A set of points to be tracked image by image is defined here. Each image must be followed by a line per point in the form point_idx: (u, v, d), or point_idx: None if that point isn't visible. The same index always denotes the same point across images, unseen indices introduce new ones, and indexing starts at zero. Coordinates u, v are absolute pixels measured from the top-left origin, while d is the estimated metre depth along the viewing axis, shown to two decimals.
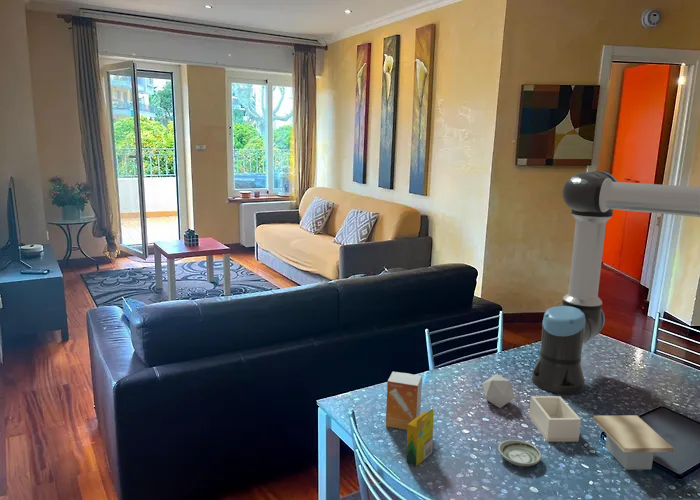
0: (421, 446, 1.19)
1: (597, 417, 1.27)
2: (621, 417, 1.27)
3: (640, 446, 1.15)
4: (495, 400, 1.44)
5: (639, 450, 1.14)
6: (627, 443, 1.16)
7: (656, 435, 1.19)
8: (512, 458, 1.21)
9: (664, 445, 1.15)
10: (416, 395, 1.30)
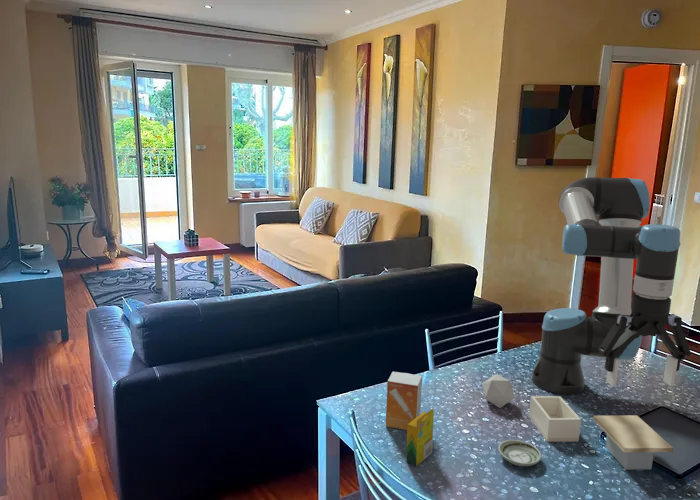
0: (421, 446, 1.19)
1: (597, 417, 1.27)
2: (621, 417, 1.27)
3: (640, 446, 1.15)
4: (495, 400, 1.44)
5: (639, 450, 1.14)
6: (627, 443, 1.16)
7: (656, 435, 1.19)
8: (512, 458, 1.21)
9: (664, 445, 1.15)
10: (416, 395, 1.30)
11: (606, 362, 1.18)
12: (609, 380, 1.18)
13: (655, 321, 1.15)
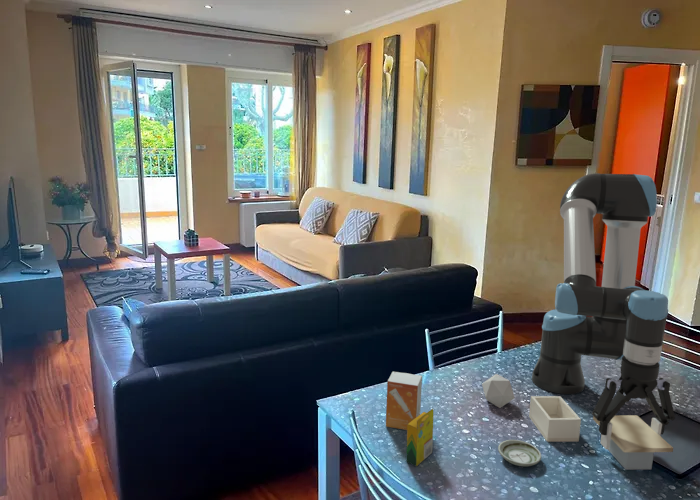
0: (421, 446, 1.19)
1: None
2: (621, 416, 1.27)
3: (640, 446, 1.15)
4: (495, 400, 1.44)
5: (639, 450, 1.14)
6: (627, 443, 1.16)
7: (656, 435, 1.19)
8: (512, 458, 1.21)
9: (664, 445, 1.15)
10: (416, 395, 1.30)
11: (600, 425, 1.21)
12: (603, 442, 1.22)
13: (644, 384, 1.18)
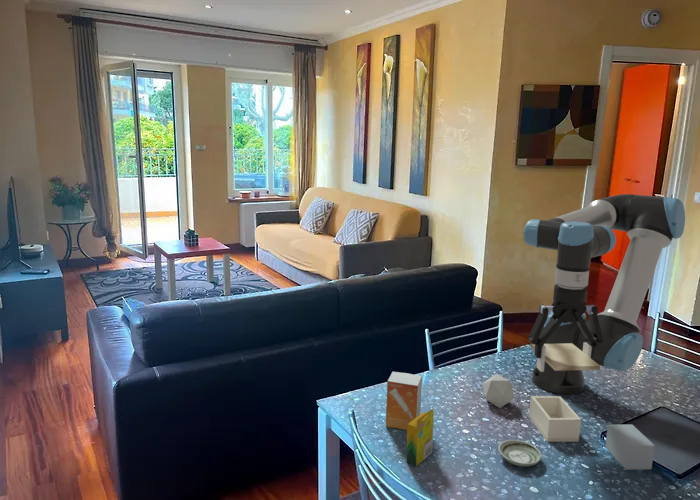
0: (421, 446, 1.19)
1: None
2: (557, 344, 1.36)
3: (569, 365, 1.24)
4: (495, 400, 1.44)
5: (569, 368, 1.23)
6: (558, 363, 1.25)
7: (586, 357, 1.28)
8: (512, 458, 1.21)
9: (592, 364, 1.24)
10: (416, 395, 1.30)
11: (535, 349, 1.30)
12: (538, 366, 1.31)
13: (574, 309, 1.26)
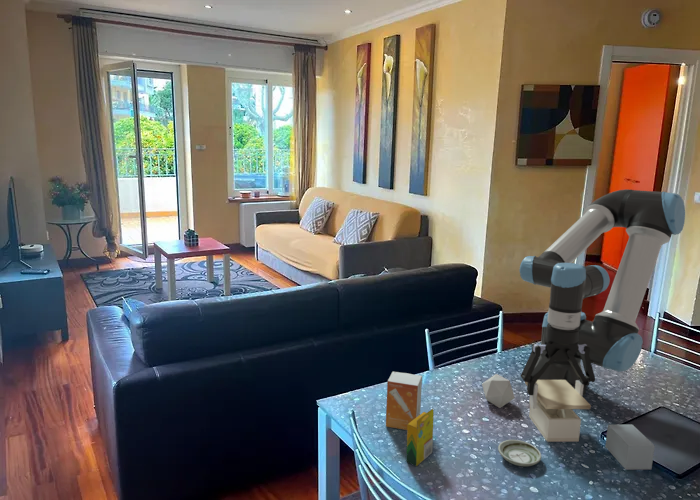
0: (421, 446, 1.19)
1: None
2: (550, 380, 1.39)
3: (560, 404, 1.26)
4: (495, 400, 1.44)
5: (559, 407, 1.26)
6: (550, 401, 1.27)
7: (578, 395, 1.31)
8: (512, 458, 1.21)
9: (583, 403, 1.27)
10: (416, 395, 1.30)
11: (528, 387, 1.32)
12: (531, 402, 1.33)
13: (566, 348, 1.29)
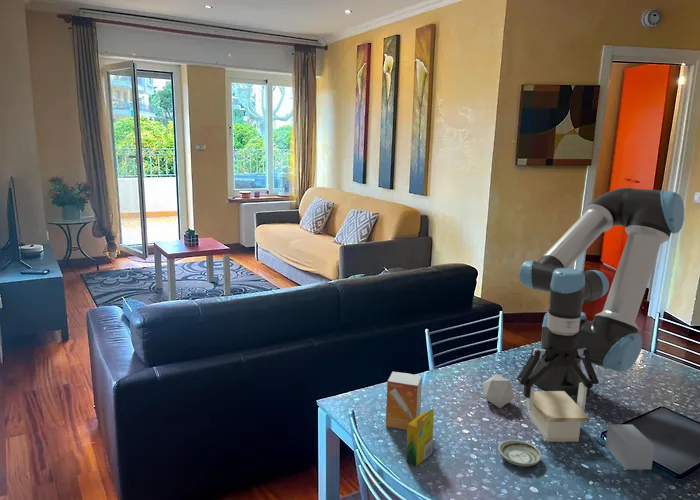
0: (421, 446, 1.19)
1: None
2: (549, 392, 1.40)
3: (559, 417, 1.27)
4: (495, 400, 1.44)
5: (558, 420, 1.27)
6: (549, 414, 1.28)
7: (577, 407, 1.32)
8: (512, 458, 1.21)
9: (581, 415, 1.28)
10: (416, 395, 1.30)
11: (524, 389, 1.33)
12: (527, 405, 1.33)
13: (565, 354, 1.29)
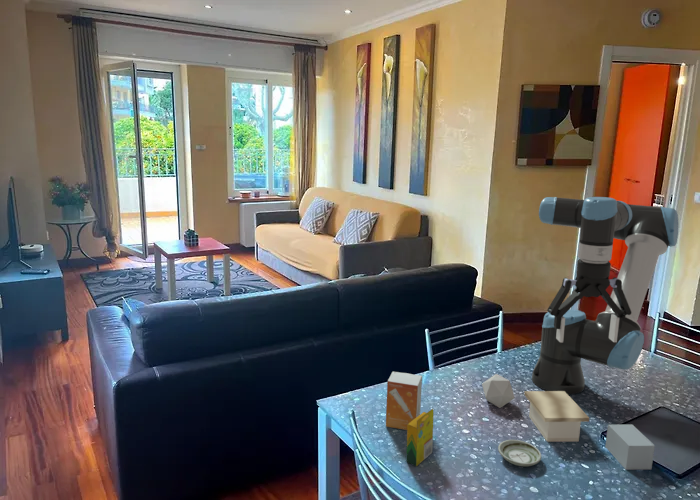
0: (421, 446, 1.19)
1: (527, 392, 1.39)
2: (549, 392, 1.40)
3: (559, 417, 1.27)
4: (495, 400, 1.44)
5: (558, 420, 1.27)
6: (549, 414, 1.28)
7: (577, 407, 1.32)
8: (512, 458, 1.21)
9: (581, 415, 1.28)
10: (416, 395, 1.30)
11: (554, 321, 1.32)
12: (558, 337, 1.33)
13: (597, 283, 1.28)
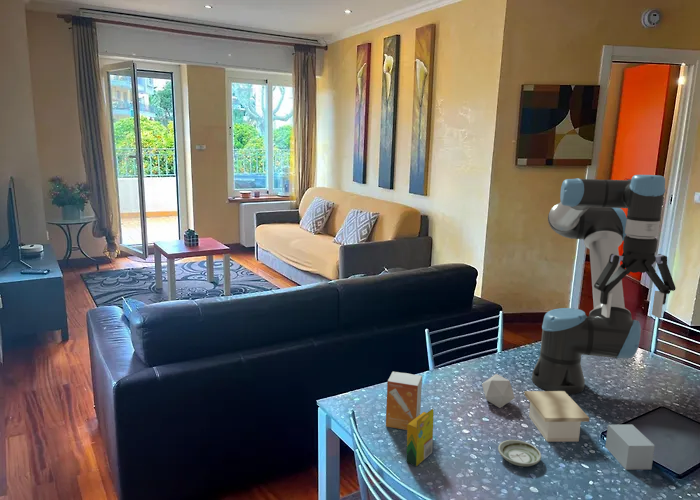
0: (421, 446, 1.19)
1: (527, 392, 1.39)
2: (549, 392, 1.40)
3: (559, 417, 1.27)
4: (495, 400, 1.44)
5: (558, 420, 1.27)
6: (549, 414, 1.28)
7: (577, 407, 1.32)
8: (512, 458, 1.21)
9: (581, 415, 1.28)
10: (416, 395, 1.30)
11: (601, 296, 1.34)
12: (604, 312, 1.35)
13: (644, 259, 1.31)
